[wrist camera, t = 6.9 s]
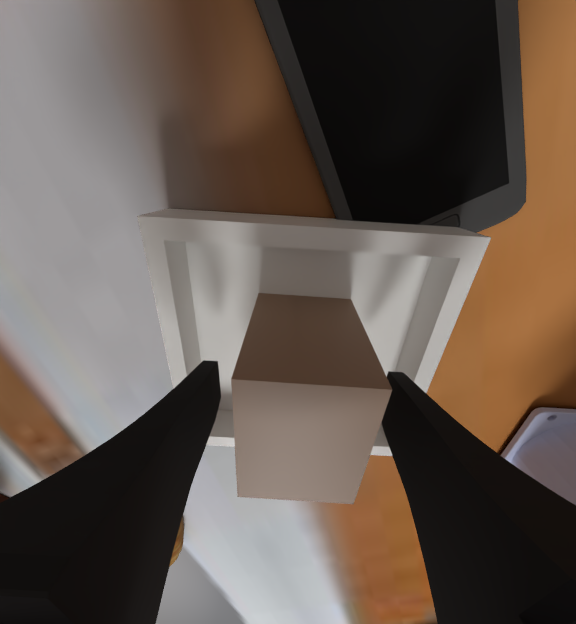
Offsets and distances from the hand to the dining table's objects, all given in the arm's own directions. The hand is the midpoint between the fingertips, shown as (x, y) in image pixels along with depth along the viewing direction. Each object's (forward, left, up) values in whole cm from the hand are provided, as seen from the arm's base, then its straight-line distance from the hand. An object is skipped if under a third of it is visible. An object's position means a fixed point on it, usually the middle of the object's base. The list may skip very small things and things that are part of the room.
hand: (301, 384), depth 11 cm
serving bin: (0, 0, -4) cm, 4 cm away
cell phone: (-2, -11, -4) cm, 12 cm away
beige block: (0, 0, -3) cm, 3 cm away
